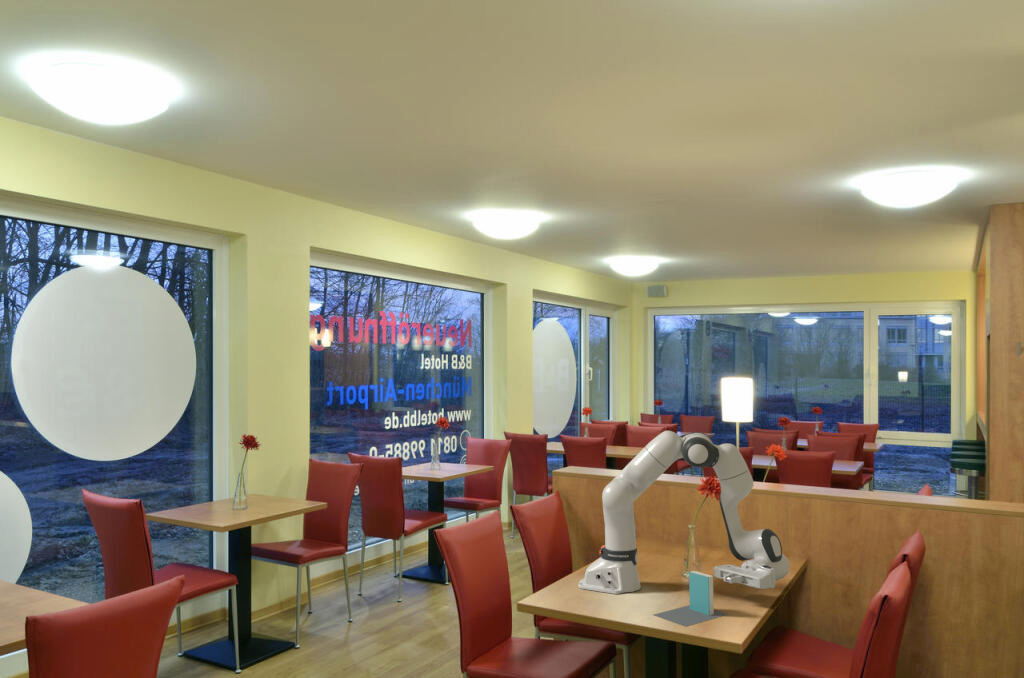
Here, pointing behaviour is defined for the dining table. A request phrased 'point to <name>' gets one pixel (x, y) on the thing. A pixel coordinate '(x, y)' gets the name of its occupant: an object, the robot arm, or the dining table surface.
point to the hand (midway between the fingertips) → (727, 580)
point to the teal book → (701, 592)
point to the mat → (688, 616)
